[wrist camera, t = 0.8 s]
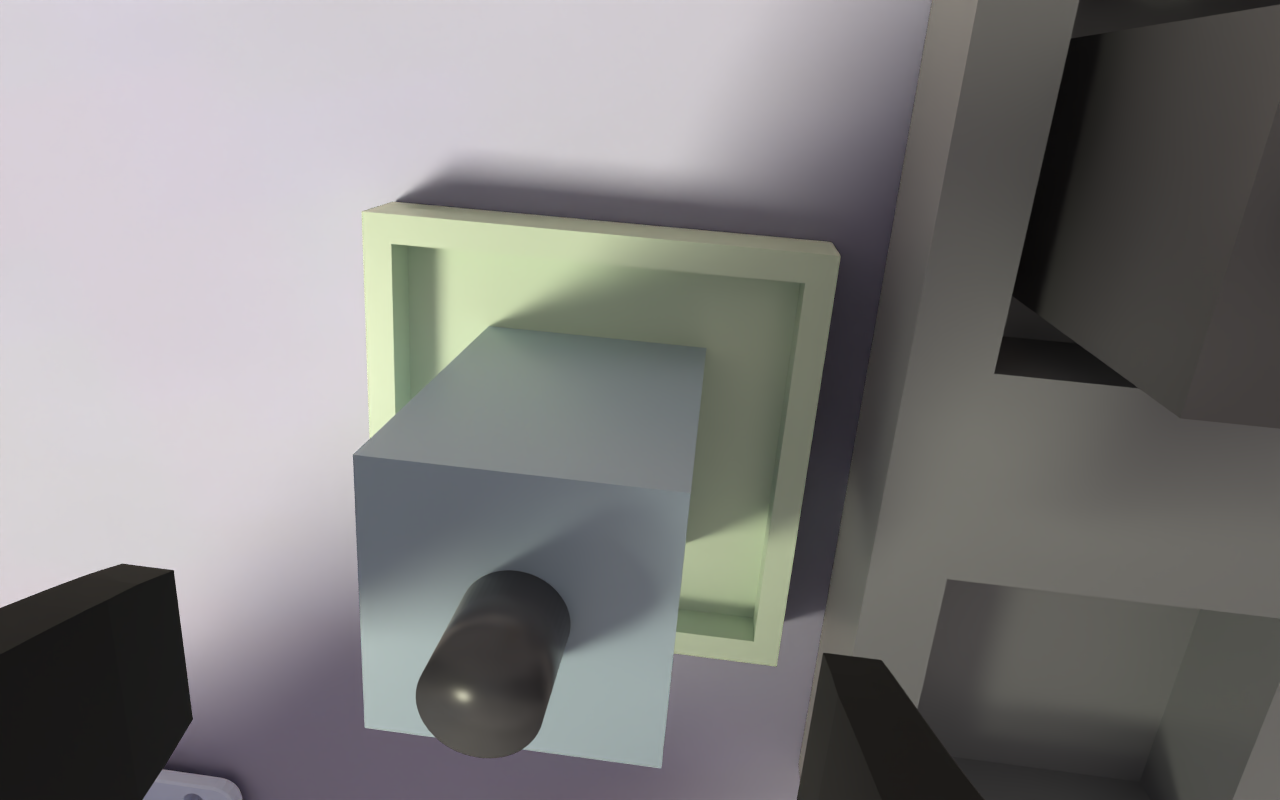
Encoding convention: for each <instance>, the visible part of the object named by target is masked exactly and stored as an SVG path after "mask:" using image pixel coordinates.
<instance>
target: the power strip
mask: <svg viewBox="0 0 1280 800" xmlns="http://www.w3.org/2000/svg"><path fill="white" fill-rule="evenodd" d="M1274 5H1280V0H932V3H931V9H930V14H929V20H928V26H927V31H926V37H925V43H924V49H923V54H922V60H921V66H920V71H919V77H918V83H917V89H916V94H915V100H914V106H913V112H912V117H911V123H910V129H909V134H908V140H907V146H906V152H905V157H904V163H903V169H902V174H901V180H900V186H899V192H898V197H897V203H896V209H895V215H894V220H893V226H892V232H891V237H890V243H889V249H888V255H887V260H886V266H885V272H884V277H883V283H882V289H881V295H880V300H879V306H878V312H877V318H876V323H875V329H874V335H873V340H872V346H871V352H870V358H869V363H868V369H867V375H866V380H865V386H864V392H863V398H862V403H861V409H860V415H859V420H858V426H857V432H856V438H855V443H854V449H853V455H852V461H851V466H850V472H849V478H848V483H847V489H846V495H845V501H844V506H843V512H842V518H841V523H840V529H839V535H838V541H837V546H836V552H835V558H834V564H833V569H832V575H831V581H830V586H829V592H828V598H827V604H826V609H825V615H824V621H823V626H822V632H821V638H820V644H819V649H818V655H817V661H816V667H815V672H814V678H813V684H812V689H811V695H810V701H809V707H808V712H807V718H806V724H805V729H804V735H803V741H802V747H801V752H800V758H799V775H800V779H801V774H802V768H803V762H804V757H805V751H806V745H807V740H808V734H809V729H810V723H811V717H812V712H813V706H814V700H815V695H816V689H817V684H818V678H819V672H820V667H821V661H822V655H823V653H831V654H839V655H847V656H855V657H863V658H870V659H878V660H882V661H883V662H884V664H885V665H886V666H887V668H888V669H889V670H890V672H891V673H892V674H893V676H894V677H895V678H896V680H897V681H898V683H899V684H900V685H901V687H902V688H903V690H904V691H905V692H906V694H907V695H908V697H909V698H910V700H911V701H912V702H913V704H914V705H915V707H916V708H917V709H918V711H919V712H920V714H921V715H922V716H923V718H924V719H925V721H926V722H927V723H928V725H929V726H930V728H931V729H932V730H933V732H934V733H935V734H936V736H937V737H938V739H939V740H940V741H941V743H942V744H943V745H944V747H945V748H946V750H947V751H948V752H949V754H950V755H951V756H952V758H953V759H954V760H955V762H956V763H957V764H958V766H959V767H960V768H961V770H962V771H963V772H964V774H965V775H966V776H967V778H968V779H969V780H970V782H971V783H972V784H973V786H974V787H975V788H976V789H977V791H978V792H979V793H980V794H981V796H982V797H983V798H984V800H1280V429H1278V428H1268V427H1259V426H1249V425H1239V424H1230V423H1220V422H1210V421H1201V420H1191V419H1181V418H1179V417H1178V416H1176V415H1175V414H1174V413H1172V412H1171V411H1169V410H1168V409H1167V408H1165V407H1164V406H1163V405H1161V404H1160V403H1158V402H1157V401H1156V400H1154V399H1153V398H1152V397H1150V396H1149V395H1147V394H1146V393H1145V392H1143V391H1142V390H1141V389H1139V388H1138V387H1136V386H1135V385H1134V384H1132V383H1131V382H1130V381H1128V380H1127V379H1125V378H1124V377H1123V376H1121V375H1120V374H1119V373H1117V372H1116V371H1114V370H1113V369H1112V368H1110V367H1109V366H1108V365H1106V364H1105V363H1104V362H1102V361H1101V360H1099V359H1098V358H1097V357H1095V356H1094V355H1093V354H1091V353H1090V352H1088V351H1087V350H1086V349H1084V348H1083V347H1082V346H1080V345H1079V344H1077V343H1076V342H1075V341H1073V340H1072V339H1071V338H1069V337H1068V336H1066V335H1065V334H1064V333H1062V332H1061V331H1060V330H1058V329H1057V328H1055V327H1054V326H1053V325H1051V324H1050V323H1049V322H1047V321H1046V320H1044V319H1043V318H1042V317H1040V316H1039V315H1038V314H1036V313H1035V312H1034V311H1032V310H1031V309H1029V308H1028V307H1027V306H1025V305H1024V304H1023V303H1021V302H1020V301H1018V300H1017V299H1016V298H1014V297H1013V296H1012V293H1013V289H1014V284H1015V280H1016V276H1017V271H1018V267H1019V263H1020V258H1021V254H1022V249H1023V245H1024V241H1025V236H1026V232H1027V227H1028V223H1029V219H1030V214H1031V210H1032V206H1033V201H1034V197H1035V192H1036V188H1037V184H1038V179H1039V175H1040V171H1041V166H1042V162H1043V157H1044V153H1045V149H1046V144H1047V140H1048V136H1049V131H1050V127H1051V122H1052V118H1053V114H1054V109H1055V105H1056V100H1057V96H1058V92H1059V87H1060V83H1061V79H1062V74H1063V70H1064V65H1065V61H1066V57H1067V52H1068V48H1069V44H1070V39H1071V38H1077V37H1083V36H1090V35H1096V34H1102V33H1108V32H1114V31H1120V30H1126V29H1133V28H1139V27H1145V26H1151V25H1157V24H1163V23H1169V22H1175V21H1182V20H1188V19H1194V18H1200V17H1206V16H1212V15H1218V14H1225V13H1231V12H1237V11H1243V10H1249V9H1255V8H1261V7H1267V6H1274Z"/></svg>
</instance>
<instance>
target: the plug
mask: <svg viewBox="0 0 1280 800" xmlns="http://www.w3.org/2000/svg"><path fill="white" fill-rule="evenodd" d="M705 357H706V348H701V347H691V346H681V345H671V344H661V343H652V342H642V341H632V340H622V339H612V338H602V337H593V336H583V335H573V334H563V333H553V332H543V331H534V330H524V329H514V328H504V327H494V326H488V327H487V328H486V329H485V330H484V331H483V332H482V333H481V334H480V335H479V336H478V337H477V338H476V339H475V340H474V341H473V342H471V343H470V344H469V345H468V346H467V347H466V348H465V349H464V350H463V351H462V352H461V353H460V354H459V355H458V356H457V357H456V358H455V359H454V360H452V361H451V362H450V363H449V364H448V365H447V366H446V367H445V368H444V369H443V370H442V371H441V372H440V373H439V374H438V375H437V376H436V377H435V378H433V379H432V380H431V381H430V382H429V383H428V384H427V385H426V386H425V387H424V388H423V389H422V390H421V391H420V392H419V393H418V394H417V395H416V396H414V397H413V398H412V399H411V400H410V401H409V402H408V403H407V404H406V405H405V406H404V407H403V408H402V409H401V410H400V411H399V412H398V413H397V414H395V415H394V416H393V417H392V418H391V419H390V420H389V421H388V422H387V423H386V424H385V425H384V426H383V427H382V428H381V429H380V430H379V431H378V432H377V433H375V434H374V435H373V436H372V437H371V438H370V439H369V440H368V441H367V442H366V443H365V444H364V445H363V446H362V447H361V448H360V449H359V450H358V451H356V452H355V453H354V454H353V466H354V489H355V513H356V536H357V560H358V583H359V607H360V630H361V654H362V677H363V701H364V724H365V728H369V729H376V730H383V731H391V732H398V733H405V734H413V735H420V736H427V737H435V738H437V739H438V740H439V741H440V742H442V743H443V744H445V745H446V746H448V747H450V748H451V749H453V750H455V751H458V752H460V753H462V754H466V755H469V756H474V757H479V758H498V757H504V756H508V755H511V754H514V753H516V752H518V751H520V750H529V751H537V752H544V753H551V754H559V755H566V756H573V757H581V758H588V759H595V760H602V761H610V762H617V763H624V764H632V765H639V766H646V767H654V768H661V767H662V758H663V749H664V739H665V730H666V721H667V712H668V702H669V693H670V684H671V675H672V665H673V656H674V647H675V638H676V628H677V619H678V610H679V600H680V591H681V582H682V573H683V563H684V554H685V545H686V535H687V526H688V517H689V507H690V498H691V488H692V479H693V470H694V460H695V451H696V441H697V432H698V422H699V413H700V404H701V394H702V385H703V375H704V366H705Z"/></svg>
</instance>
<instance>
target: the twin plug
mask: <svg viewBox="0 0 1280 800" xmlns="http://www.w3.org/2000/svg"><path fill="white" fill-rule="evenodd" d="M1012 296H1013V297H1014V298H1016V299H1017V300H1018V301H1020V302H1021V303H1023V304H1024V305H1025V306H1027V307H1028V308H1029V309H1031V310H1032V311H1034V312H1035V313H1036V314H1038V315H1039V316H1040V317H1042V318H1043V319H1044V320H1046V321H1047V322H1049V323H1050V324H1051V325H1053V326H1054V327H1055V328H1057V329H1058V330H1060V331H1061V332H1062V333H1064V334H1065V335H1066V336H1068V337H1069V338H1071V339H1072V340H1073V341H1075V342H1076V343H1077V344H1079V345H1080V346H1082V347H1083V348H1084V349H1086V350H1087V351H1088V352H1090V353H1091V354H1093V355H1094V356H1095V357H1097V358H1098V359H1099V360H1101V361H1102V362H1104V363H1105V364H1106V365H1108V366H1109V367H1110V368H1112V369H1113V370H1114V371H1116V372H1117V373H1119V374H1120V375H1121V376H1123V377H1124V378H1125V379H1127V380H1128V381H1130V382H1131V383H1132V384H1134V385H1135V386H1136V387H1138V388H1139V389H1141V390H1142V391H1143V392H1145V393H1146V394H1147V395H1149V396H1150V397H1152V398H1153V399H1154V400H1156V401H1157V402H1158V403H1160V404H1161V405H1163V406H1164V407H1165V408H1167V409H1168V410H1169V411H1171V412H1172V413H1174V414H1175V415H1176V416H1178V417H1179V418H1181V419H1191V420H1201V421H1210V422H1220V423H1230V424H1239V425H1249V426H1259V427H1268V428H1278V429H1280V5H1274V6H1267V7H1261V8H1255V9H1249V10H1243V11H1237V12H1231V13H1225V14H1218V15H1212V16H1206V17H1200V18H1194V19H1188V20H1182V21H1175V22H1169V23H1163V24H1157V25H1151V26H1145V27H1139V28H1133V29H1126V30H1120V31H1114V32H1108V33H1102V34H1096V35H1090V36H1083V37H1077V38H1071V39H1070V44H1069V48H1068V52H1067V57H1066V61H1065V65H1064V70H1063V74H1062V79H1061V83H1060V87H1059V92H1058V96H1057V100H1056V105H1055V109H1054V114H1053V118H1052V122H1051V127H1050V131H1049V136H1048V140H1047V144H1046V149H1045V153H1044V157H1043V162H1042V166H1041V171H1040V175H1039V179H1038V184H1037V188H1036V192H1035V197H1034V201H1033V206H1032V210H1031V214H1030V219H1029V223H1028V227H1027V232H1026V236H1025V241H1024V245H1023V249H1022V254H1021V258H1020V263H1019V267H1018V271H1017V276H1016V280H1015V284H1014V289H1013V293H1012Z"/></svg>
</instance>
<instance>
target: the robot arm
mask: <svg viewBox="0 0 1280 800" xmlns="http://www.w3.org/2000/svg"><path fill="white" fill-rule="evenodd" d="M192 720H193V717H192V710H191V702H190V694H189V686H188V678H187V671H186V663H185V655H184V647H183V639H182V632H181V624H180V616H179V608H178V600H177V593H176V585H175V577H174V570H167V569H159V568H151V567H143V566H136V565H128V564H120V565H117V566H113V567H110V568H107V569H104V570H100V571H97V572H94V573H91V574H88V575H85V576H83V577H80V578H77V579H74V580H72V581H69V582H66V583H63V584H61V585H58V586H56V587H53V588H50V589H48V590H45V591H42V592H40V593H37V594H35V595H32V596H30V597H27V598H25V599H22V600H20V601H17V602H14V603H12V604H9V605H7V606H4V607H2V608H0V800H242V795H241V792H240V790H239V788H238V787H237V786H236V785H235V784H234V783H233V782H231V781H230V780H228V779H224V778H220V777H213V776H206V775H199V774H192V773H185V772H178V771H171V770H164V769H163V768H164V766H165V765H166V763H167V761H168V760H169V758H170V756H171V755H172V753H173V751H174V750H175V748H176V746H177V745H178V743H179V741H180V740H181V738H182V736H183V735H184V733H185V731H186V730H187V728H188V726H189V725H190V723H191V721H192ZM797 800H984V798H983V797H982V796H981V794H980V793H979V792H978V791H977V789H976V788H975V787H974V786H973V784H972V783H971V782H970V780H969V779H968V778H967V776H966V775H965V774H964V772H963V771H962V770H961V768H960V767H959V766H958V764H957V763H956V762H955V760H954V759H953V758H952V756H951V755H950V754H949V752H948V751H947V750H946V748H945V747H944V745H943V744H942V743H941V741H940V740H939V739H938V737H937V736H936V734H935V733H934V732H933V730H932V729H931V728H930V726H929V725H928V723H927V722H926V721H925V719H924V718H923V716H922V715H921V714H920V712H919V711H918V709H917V708H916V707H915V705H914V704H913V702H912V701H911V700H910V698H909V697H908V695H907V694H906V692H905V691H904V690H903V688H902V687H901V685H900V684H899V683H898V681H897V680H896V678H895V677H894V676H893V674H892V673H891V672H890V670H889V669H888V668H887V666H886V665H885V664H884V662H883V661H882V660H878V659H870V658H863V657H855V656H847V655H839V654H831V653H823V655H822V661H821V667H820V672H819V678H818V684H817V689H816V695H815V700H814V706H813V712H812V717H811V723H810V729H809V734H808V740H807V745H806V751H805V757H804V762H803V768H802V774H801V779H800V785H799V790H798V796H797Z"/></svg>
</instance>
